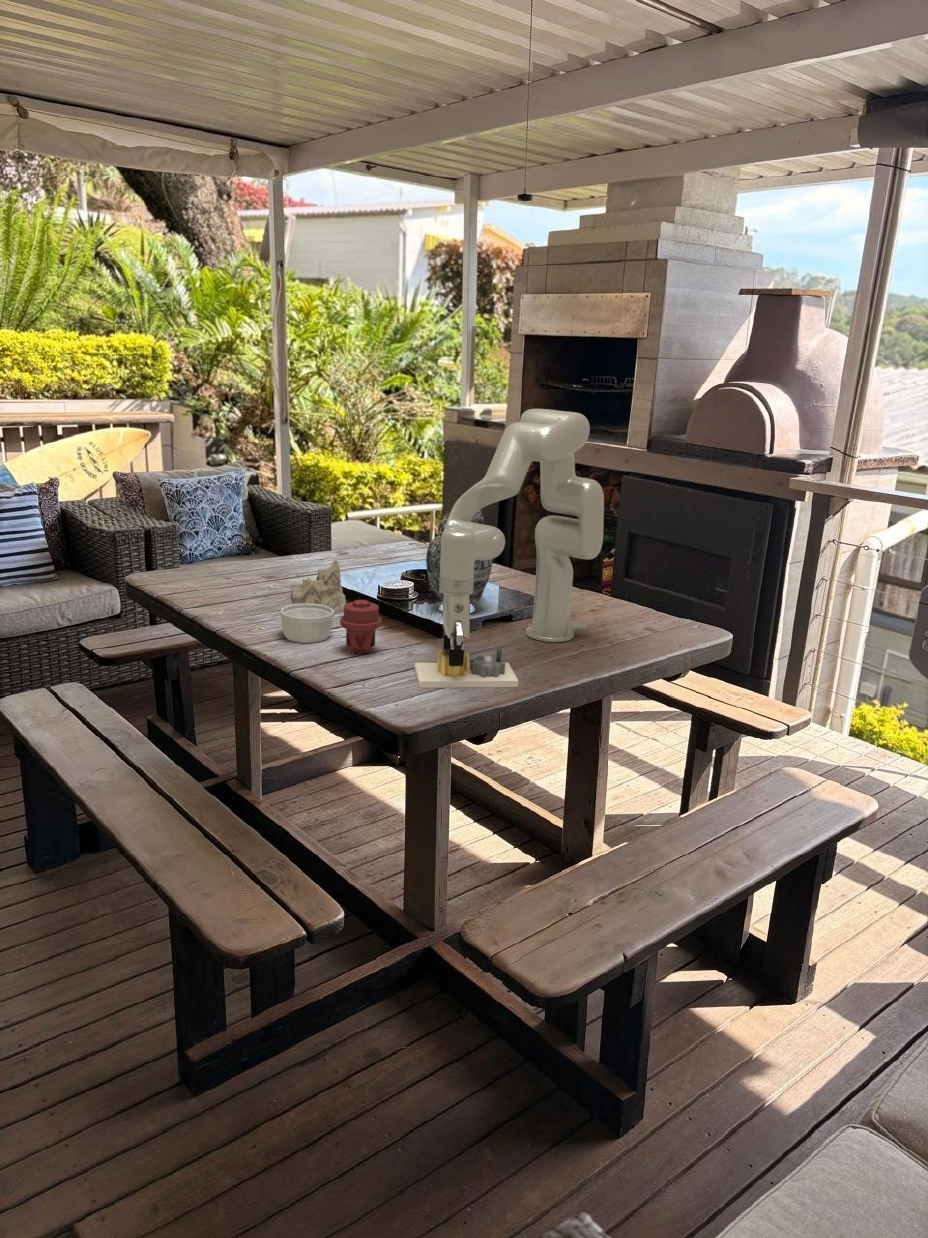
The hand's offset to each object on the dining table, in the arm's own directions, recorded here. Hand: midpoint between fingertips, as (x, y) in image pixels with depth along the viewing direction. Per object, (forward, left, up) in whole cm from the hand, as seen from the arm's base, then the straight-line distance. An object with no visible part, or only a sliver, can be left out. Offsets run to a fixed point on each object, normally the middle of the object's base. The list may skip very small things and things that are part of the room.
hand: (453, 658), depth 206 cm
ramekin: (+33, -30, -5) cm, 45 cm away
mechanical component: (+20, -19, -5) cm, 28 cm away
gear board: (-3, 0, -5) cm, 6 cm away
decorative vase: (-8, -54, -5) cm, 55 cm away
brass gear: (0, 0, -3) cm, 3 cm away
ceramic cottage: (+30, -56, -5) cm, 64 cm away
